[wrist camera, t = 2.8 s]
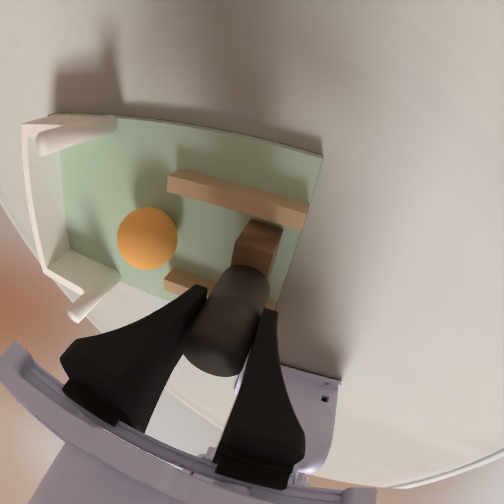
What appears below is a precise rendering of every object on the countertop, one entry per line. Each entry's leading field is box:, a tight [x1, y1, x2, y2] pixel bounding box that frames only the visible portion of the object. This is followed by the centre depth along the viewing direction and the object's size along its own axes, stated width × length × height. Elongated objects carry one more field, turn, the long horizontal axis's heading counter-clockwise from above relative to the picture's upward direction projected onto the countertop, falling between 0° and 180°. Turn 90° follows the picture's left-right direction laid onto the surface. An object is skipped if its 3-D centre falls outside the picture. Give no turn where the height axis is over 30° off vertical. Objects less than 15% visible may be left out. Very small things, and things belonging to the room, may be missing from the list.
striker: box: [181, 219, 283, 377], centre depth 14 cm, size 3×5×8 cm, turn 169°
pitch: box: [21, 113, 323, 323], centre depth 17 cm, size 22×14×7 cm, turn 79°
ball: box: [117, 207, 178, 270], centre depth 17 cm, size 4×4×4 cm
